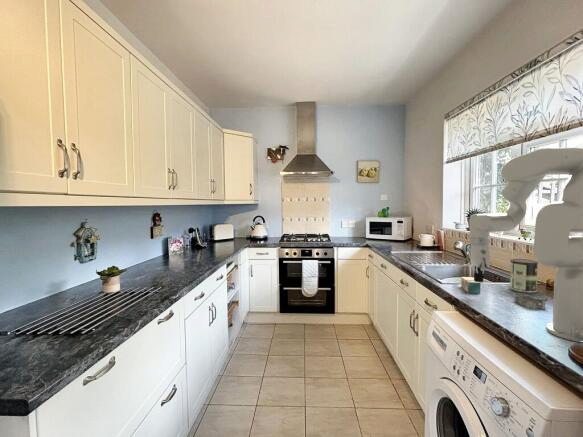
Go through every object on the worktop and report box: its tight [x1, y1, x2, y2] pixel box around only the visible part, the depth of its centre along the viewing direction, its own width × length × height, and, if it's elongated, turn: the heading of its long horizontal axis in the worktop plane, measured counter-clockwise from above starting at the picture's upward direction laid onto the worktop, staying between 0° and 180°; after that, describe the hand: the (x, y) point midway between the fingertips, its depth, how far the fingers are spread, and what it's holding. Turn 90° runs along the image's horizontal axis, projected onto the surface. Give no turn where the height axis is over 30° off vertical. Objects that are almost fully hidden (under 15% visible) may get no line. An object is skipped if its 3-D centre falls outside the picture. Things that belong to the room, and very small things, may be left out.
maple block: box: [460, 276, 482, 294], centre depth 139 cm, size 5×5×10 cm
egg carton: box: [512, 292, 548, 310], centre depth 119 cm, size 11×8×4 cm
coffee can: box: [509, 258, 539, 294], centre depth 138 cm, size 10×10×14 cm
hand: (478, 281), depth 130 cm, fingers closed
